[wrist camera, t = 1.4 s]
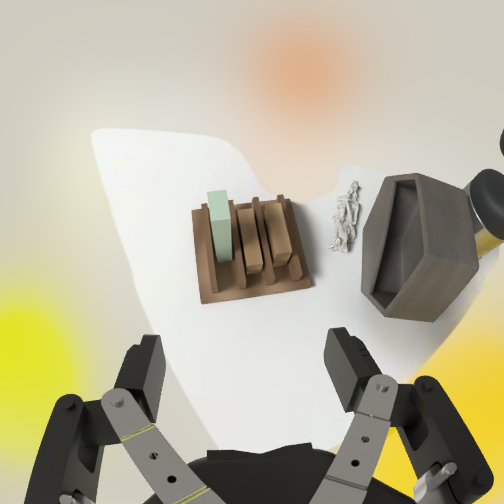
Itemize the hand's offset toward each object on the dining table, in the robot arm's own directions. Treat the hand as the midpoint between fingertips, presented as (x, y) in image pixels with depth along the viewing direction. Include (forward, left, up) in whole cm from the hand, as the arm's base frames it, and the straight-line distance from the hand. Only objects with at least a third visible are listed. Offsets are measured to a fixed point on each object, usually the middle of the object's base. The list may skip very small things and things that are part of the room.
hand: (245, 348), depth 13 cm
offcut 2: (-1, -16, -24) cm, 29 cm away
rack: (+2, -15, -25) cm, 29 cm away
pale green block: (+6, -14, -24) cm, 28 cm away
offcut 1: (+2, -15, -24) cm, 28 cm away
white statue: (-12, -25, -25) cm, 37 cm away
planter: (-19, -17, -25) cm, 36 cm away
